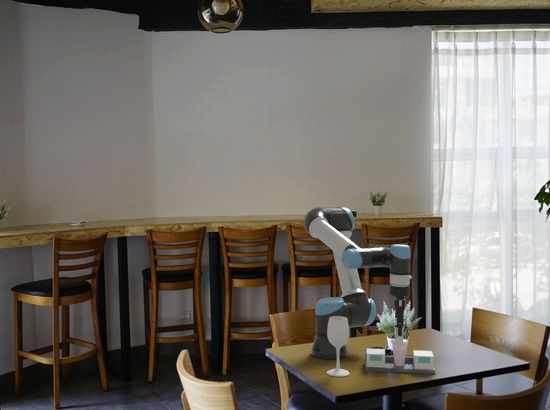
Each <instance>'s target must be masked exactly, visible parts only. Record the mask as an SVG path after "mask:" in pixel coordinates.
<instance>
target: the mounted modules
mask: <svg viewBox="0 0 550 410" xmlns="http://www.w3.org/2000/svg"><path fill="white" fill-rule="evenodd" d="M365 355H366V367H384V368H385V356H386V350H385V348H368V347H367V348H366V354H365ZM412 355H413V356H412V357H413V364H414V369H429V370H434V368H435V366H434V364H435V363H434V361H435V360H434V359H435V358H434V353H433V351H432V350H415V349H413V354H412Z"/></svg>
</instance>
